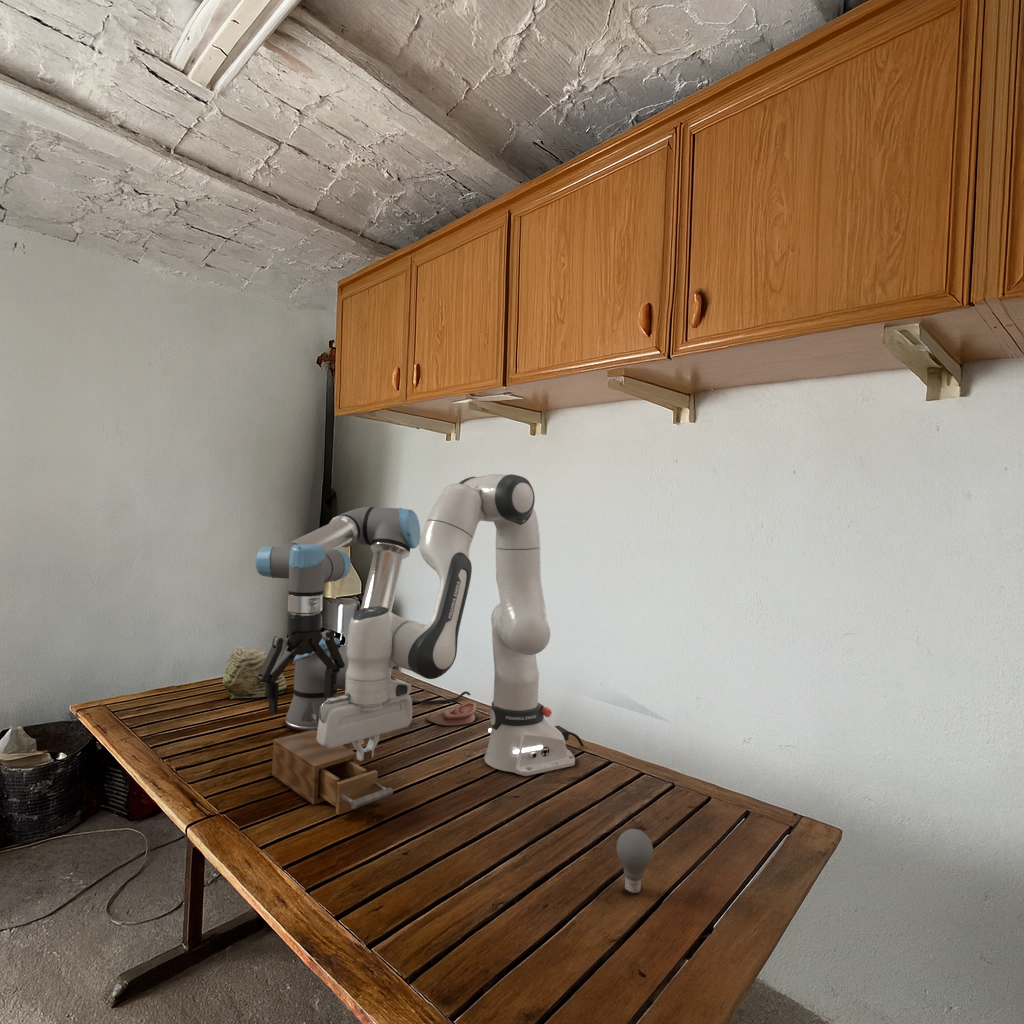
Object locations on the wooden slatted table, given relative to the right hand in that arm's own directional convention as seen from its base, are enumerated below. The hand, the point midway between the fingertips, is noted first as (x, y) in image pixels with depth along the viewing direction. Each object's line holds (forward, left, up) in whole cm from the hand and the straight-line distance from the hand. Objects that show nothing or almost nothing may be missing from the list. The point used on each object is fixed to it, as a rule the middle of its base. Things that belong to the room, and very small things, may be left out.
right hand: (365, 758), depth 126 cm
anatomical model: (-31, -49, -12) cm, 59 cm away
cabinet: (+9, -18, -12) cm, 23 cm away
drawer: (+3, -7, -11) cm, 13 cm away
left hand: (+11, -23, +4) cm, 26 cm away
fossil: (+23, -85, -12) cm, 89 cm away
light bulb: (-40, +37, -12) cm, 55 cm away
